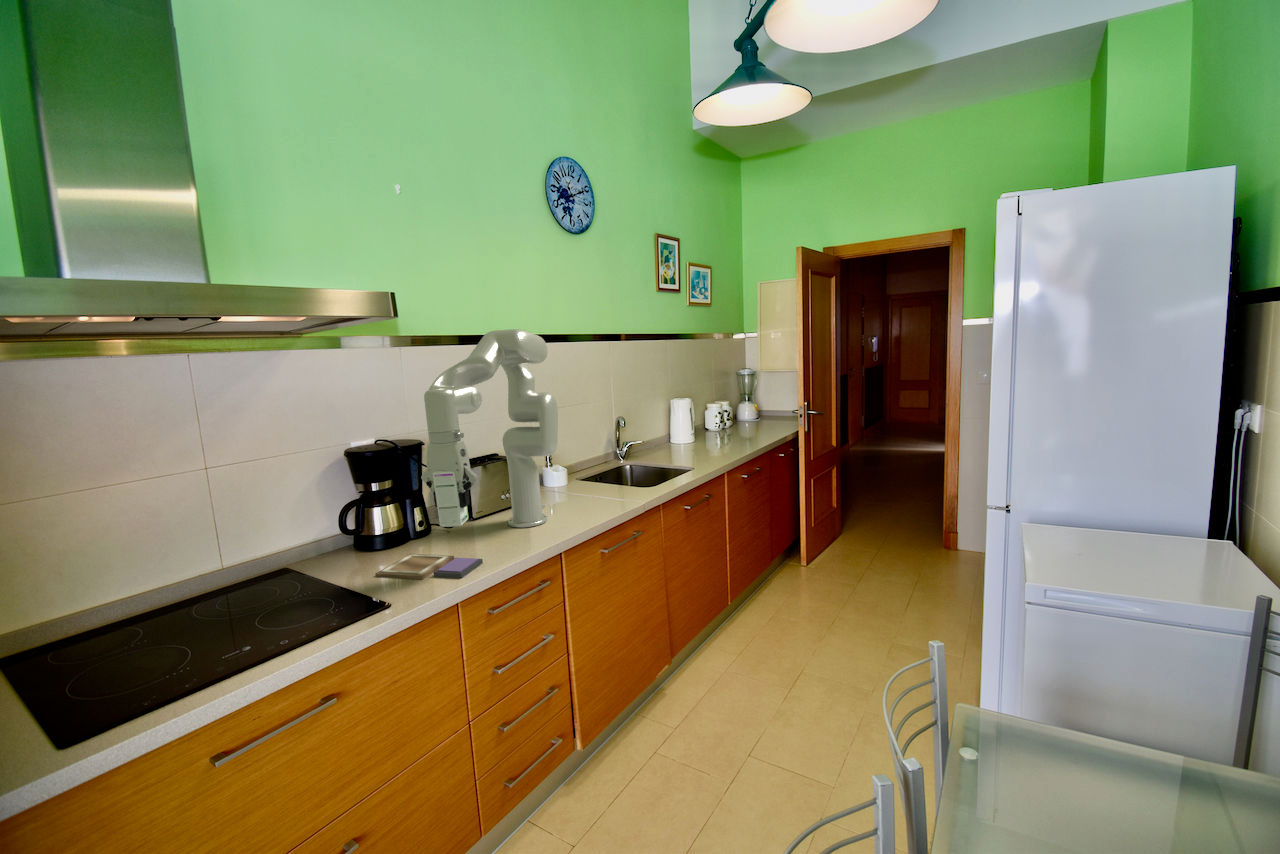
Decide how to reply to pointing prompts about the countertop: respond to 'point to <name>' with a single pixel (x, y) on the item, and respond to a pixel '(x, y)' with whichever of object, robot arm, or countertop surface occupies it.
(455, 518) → the syrup box
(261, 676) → the countertop surface
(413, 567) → the board
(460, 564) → the ink pad
